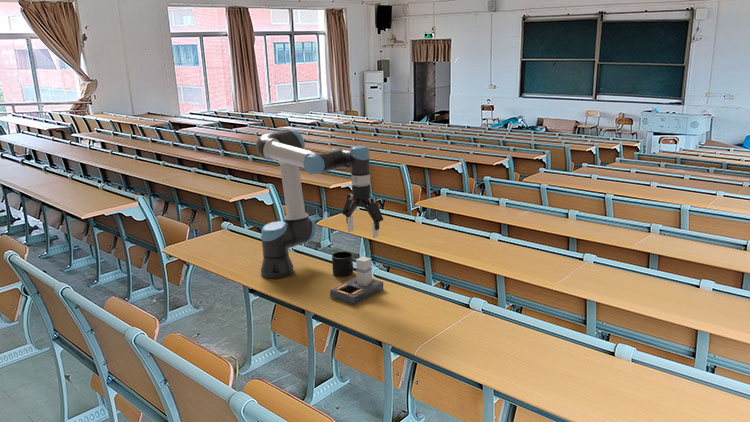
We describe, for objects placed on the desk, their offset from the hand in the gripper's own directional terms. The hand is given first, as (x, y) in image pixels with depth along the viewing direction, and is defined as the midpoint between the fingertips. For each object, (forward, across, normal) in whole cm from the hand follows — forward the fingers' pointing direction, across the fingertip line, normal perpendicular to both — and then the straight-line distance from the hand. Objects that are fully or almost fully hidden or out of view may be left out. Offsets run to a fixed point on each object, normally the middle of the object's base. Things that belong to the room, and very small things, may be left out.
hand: (363, 234), depth 230 cm
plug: (+25, 0, 0) cm, 25 cm away
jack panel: (+25, 0, -5) cm, 25 cm away
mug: (+25, -19, +8) cm, 32 cm away
